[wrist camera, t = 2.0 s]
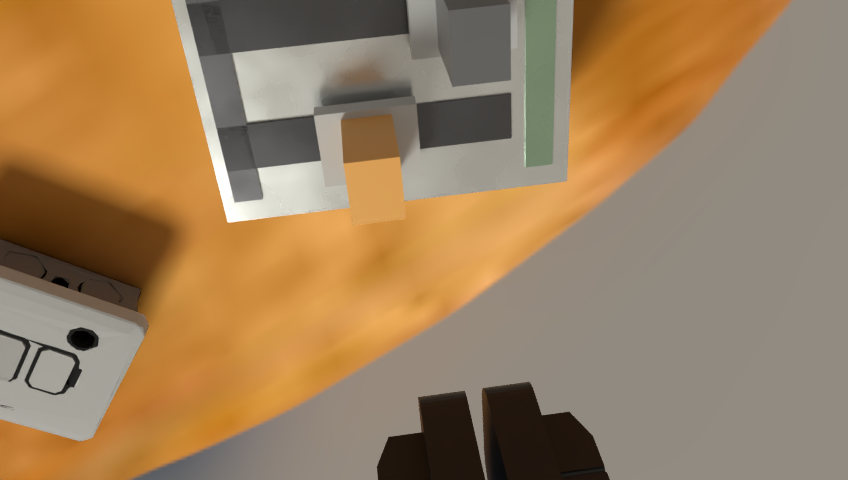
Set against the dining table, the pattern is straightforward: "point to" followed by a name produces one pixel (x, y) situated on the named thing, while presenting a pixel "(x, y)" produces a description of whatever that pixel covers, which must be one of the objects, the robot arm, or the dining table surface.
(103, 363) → the electrical switch
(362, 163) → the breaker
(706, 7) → the dining table surface
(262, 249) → the dining table surface
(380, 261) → the dining table surface
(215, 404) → the dining table surface
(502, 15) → the breaker mid
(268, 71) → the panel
